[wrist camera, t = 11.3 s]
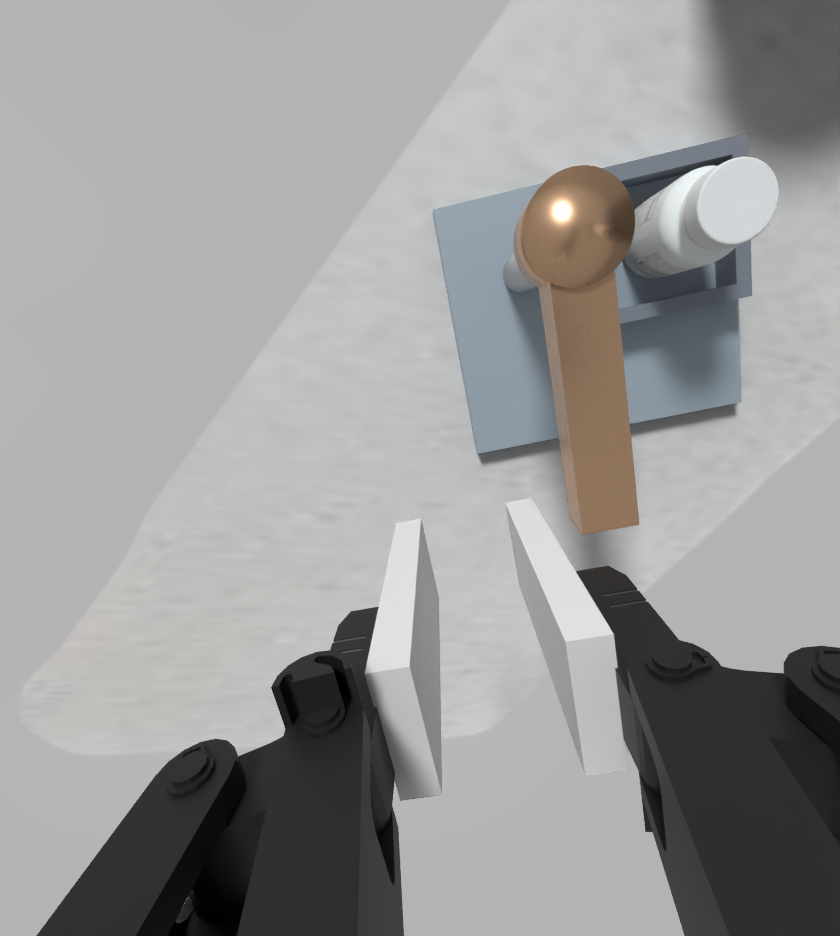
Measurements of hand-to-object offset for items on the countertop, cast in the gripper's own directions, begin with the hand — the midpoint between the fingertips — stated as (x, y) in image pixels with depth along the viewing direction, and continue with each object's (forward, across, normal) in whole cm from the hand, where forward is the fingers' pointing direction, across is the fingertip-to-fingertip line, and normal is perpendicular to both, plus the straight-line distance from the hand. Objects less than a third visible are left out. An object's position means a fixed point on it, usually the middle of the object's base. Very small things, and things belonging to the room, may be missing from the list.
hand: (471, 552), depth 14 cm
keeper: (+8, +6, +4) cm, 11 cm away
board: (+19, +10, +6) cm, 22 cm away
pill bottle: (+18, +14, +9) cm, 24 cm away
